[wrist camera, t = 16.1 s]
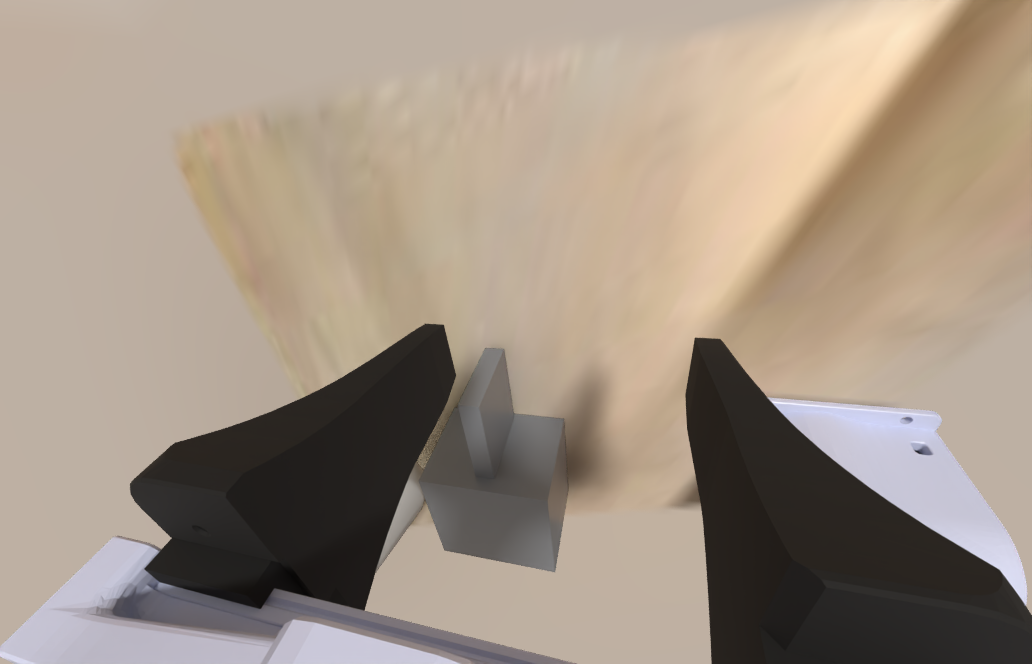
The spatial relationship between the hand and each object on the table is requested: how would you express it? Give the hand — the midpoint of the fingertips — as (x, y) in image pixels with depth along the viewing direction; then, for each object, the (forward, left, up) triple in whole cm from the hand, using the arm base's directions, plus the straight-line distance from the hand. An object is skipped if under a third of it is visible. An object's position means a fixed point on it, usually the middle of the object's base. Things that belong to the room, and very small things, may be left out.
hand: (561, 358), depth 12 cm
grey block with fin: (+6, +15, -10) cm, 19 cm away
